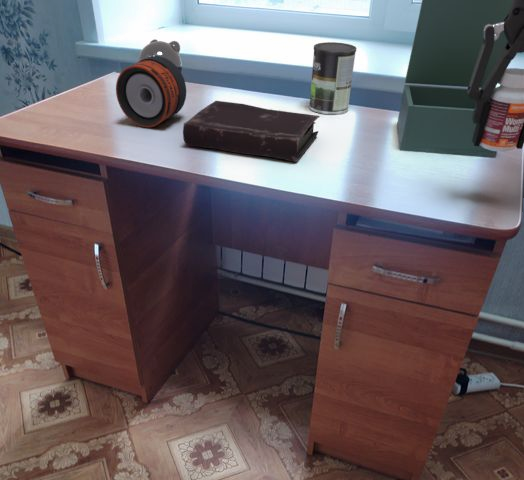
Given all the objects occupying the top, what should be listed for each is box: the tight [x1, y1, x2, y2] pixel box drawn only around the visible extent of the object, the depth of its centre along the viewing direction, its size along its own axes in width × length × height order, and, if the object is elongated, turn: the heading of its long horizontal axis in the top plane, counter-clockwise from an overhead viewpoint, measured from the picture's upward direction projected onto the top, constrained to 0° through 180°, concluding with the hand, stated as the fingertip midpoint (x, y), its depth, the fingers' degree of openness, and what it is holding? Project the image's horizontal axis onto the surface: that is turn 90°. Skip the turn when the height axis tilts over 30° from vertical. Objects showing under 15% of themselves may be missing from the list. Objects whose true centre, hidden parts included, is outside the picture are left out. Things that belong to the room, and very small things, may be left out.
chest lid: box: [404, 0, 513, 89], centre depth 109 cm, size 18×20×7 cm
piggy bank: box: [138, 38, 183, 73], centre depth 138 cm, size 11×15×12 cm
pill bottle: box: [480, 67, 524, 152], centre depth 82 cm, size 6×6×11 cm
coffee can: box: [308, 41, 358, 116], centre depth 126 cm, size 10×10×14 cm
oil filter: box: [115, 56, 187, 128], centre depth 116 cm, size 13×12×13 cm
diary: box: [182, 100, 321, 163], centre depth 110 cm, size 19×25×5 cm
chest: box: [396, 84, 498, 158], centre depth 112 cm, size 17×20×9 cm
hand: (496, 144), depth 85 cm, fingers closed on pill bottle, 6 cm apart
